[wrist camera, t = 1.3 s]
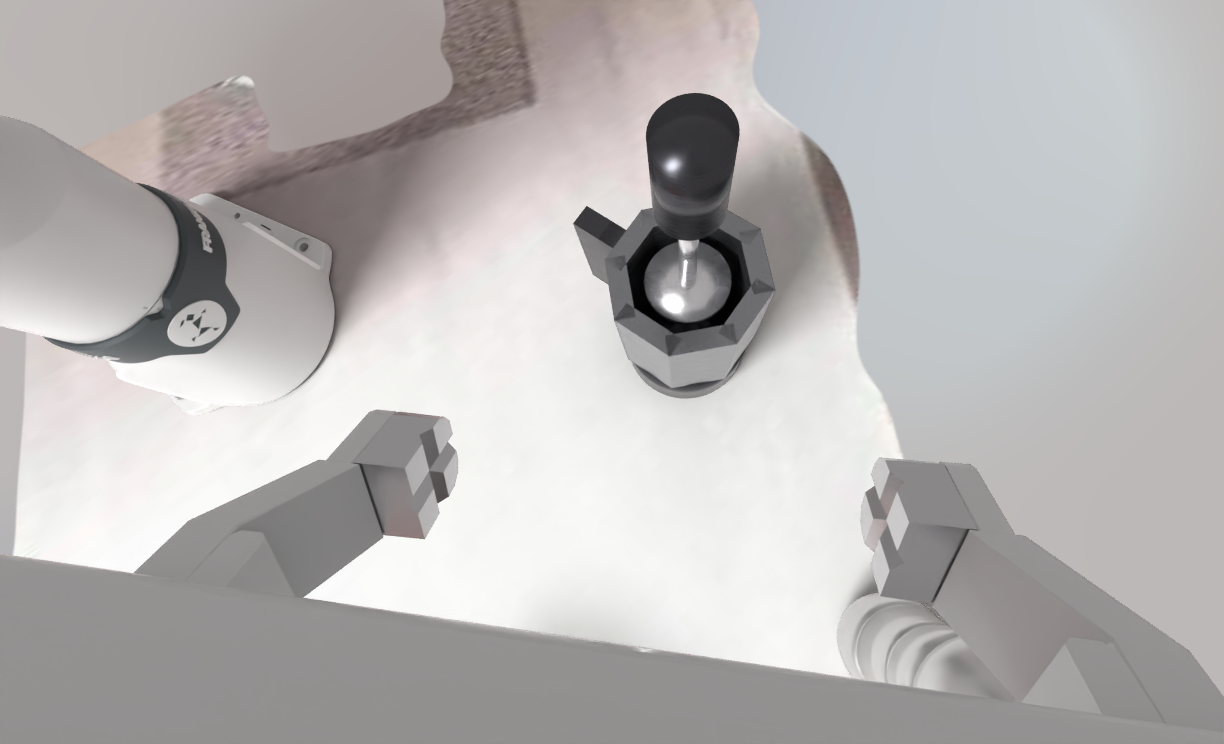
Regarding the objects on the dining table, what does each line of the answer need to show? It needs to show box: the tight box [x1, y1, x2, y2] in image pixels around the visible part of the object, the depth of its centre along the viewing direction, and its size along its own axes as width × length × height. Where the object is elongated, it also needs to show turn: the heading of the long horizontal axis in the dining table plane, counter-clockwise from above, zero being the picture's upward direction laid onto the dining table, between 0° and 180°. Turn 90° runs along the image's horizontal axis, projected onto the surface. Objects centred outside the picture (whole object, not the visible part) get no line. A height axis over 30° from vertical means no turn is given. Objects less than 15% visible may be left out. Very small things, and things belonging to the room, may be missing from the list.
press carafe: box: [573, 206, 775, 398], centre depth 38 cm, size 12×9×14 cm
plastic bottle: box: [837, 593, 1018, 702], centre depth 29 cm, size 6×7×20 cm
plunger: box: [644, 93, 739, 325], centre depth 26 cm, size 5×5×14 cm
